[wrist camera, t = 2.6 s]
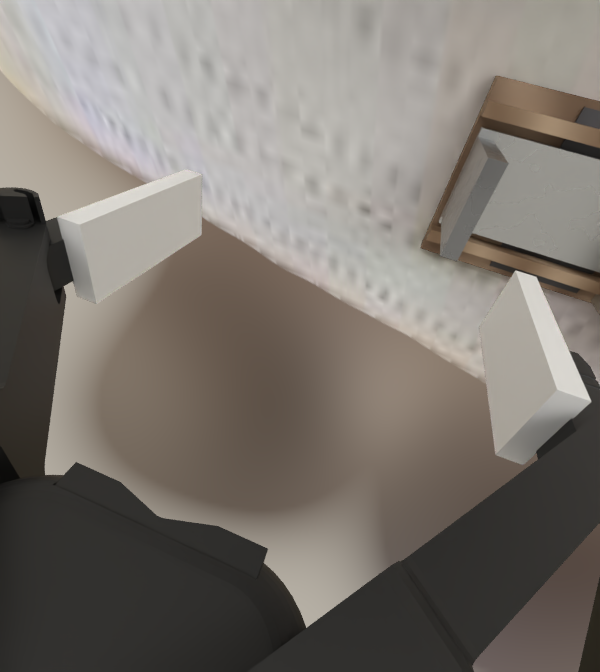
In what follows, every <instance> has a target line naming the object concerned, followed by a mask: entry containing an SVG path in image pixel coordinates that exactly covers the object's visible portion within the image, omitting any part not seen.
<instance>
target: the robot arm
mask: <svg viewBox="0 0 600 672" xmlns="http://www.w3.org/2000/svg"><path fill="white" fill-rule="evenodd" d="M201 228H202V174H200V173H196V172H193V171H190V170H187V169H186V170H183V171H180V172H177V173H175V174H172V175H169V176H167V177H164V178H161V179H158V180H156V181H153V182H150V183H147V184H145V185H142V186H139V187H137V188H134V189H131V190H129V191H126V192H123V193H120V194H118V195H115V196H112V197H109V198H107V199H104V200H101V201H98V202H96V203H93V204H91V205H88V206H85V207H82V208H80V209H77V210H74V211H71V212H68V213H66V214H63V215H60V216H58V217H56V218H53V219H51V220H48V221H45V217H44V213H43V210H42V206H41V203H40V199H39V195H38V193H36V192H34V191H32V190H28V189H23V188H0V672H474V671H473V667H472V665H473V663H474V661H475V660H476V659H477V657H478V656H479V655H480V654H481V653H482V652H483V651H484V650H485V648H486V647H487V646H488V645H489V644H490V643H491V642H492V641H493V640H494V639H495V637H496V636H497V635H498V634H499V633H500V632H501V631H502V630H503V629H504V627H505V626H506V625H507V624H508V623H509V622H510V621H511V620H512V619H513V618H514V616H515V615H516V614H517V613H518V612H519V611H520V610H521V609H522V608H523V606H524V605H525V604H526V603H527V602H528V601H529V600H530V599H531V598H532V597H533V595H534V594H535V593H536V592H537V591H538V590H539V589H540V588H541V587H542V586H543V584H544V583H545V582H546V581H547V580H548V579H549V578H550V577H551V576H552V575H553V573H554V572H555V571H556V570H557V569H558V568H559V567H560V566H561V564H563V562H564V561H565V560H566V559H567V558H568V557H569V556H570V555H571V554H572V553H573V551H574V550H575V549H576V548H577V547H578V546H579V545H580V544H581V543H582V541H583V540H584V539H585V538H586V537H587V536H588V535H589V534H590V533H591V532H592V531H593V529H594V528H595V527H596V526H597V525H598V524H599V523H600V386H599V384H598V382H597V381H596V380H595V379H596V377H595V375H594V373H593V371H592V369H591V367H590V366H589V365H588V364H587V363H586V362H585V361H584V359H583V358H582V357H581V356H580V355H579V354H578V353H575V352H572V351H569V350H568V347H567V345H566V343H565V341H564V338H563V336H562V334H561V331H560V329H559V327H558V325H557V322H556V320H555V318H554V316H553V313H552V311H551V309H550V307H549V304H548V302H547V300H546V298H545V295H544V293H543V291H542V289H541V286H540V284H539V282H538V280H537V277H535V276H532V275H529V274H526V273H522V272H519V271H516V270H515V272H514V273H513V275H512V277H511V278H510V280H509V281H508V283H507V284H506V286H505V287H504V289H503V291H502V292H501V294H500V295H499V297H498V298H497V300H496V302H495V303H494V305H493V306H492V308H491V309H490V311H489V312H488V314H487V316H486V317H485V319H484V320H483V322H482V323H481V325H480V327H479V330H480V338H481V346H482V354H483V361H484V369H485V377H486V385H487V392H488V400H489V408H490V416H491V423H492V430H493V438H494V447H495V454H496V455H498V456H500V457H503V458H505V459H508V460H511V461H513V462H516V463H519V464H521V465H524V464H525V463H526V462H527V461H528V460H529V459H530V458H531V457H532V456H533V455H535V454H536V453H537V457H538V460H537V461H535V462H534V463H533V464H531V465H530V466H529V467H527V468H526V469H525V470H523V471H522V472H521V473H519V474H518V475H517V476H515V477H514V478H513V479H512V480H510V481H509V482H508V483H506V484H505V485H503V486H502V487H501V488H499V489H498V490H497V491H495V492H494V493H493V494H491V495H490V496H489V497H487V498H486V499H485V500H483V501H482V502H481V503H479V504H478V505H477V506H475V507H474V508H473V509H471V510H470V511H469V512H467V513H466V514H465V515H463V516H462V517H461V518H459V519H458V520H456V521H455V522H454V523H452V524H451V525H450V526H449V527H447V528H446V529H445V530H443V531H442V532H440V533H439V534H438V535H436V536H435V537H434V538H432V539H431V540H430V541H429V542H427V543H426V544H424V545H423V546H422V547H420V548H419V549H418V550H416V551H415V552H414V553H413V554H411V555H410V556H408V557H407V558H405V559H404V560H402V561H398V562H396V563H395V564H393V565H391V566H390V567H389V568H387V569H386V570H384V571H383V572H382V573H380V574H379V575H378V576H376V577H375V578H373V579H372V580H371V581H369V582H368V583H367V584H365V585H364V586H363V587H361V588H360V589H359V590H357V591H356V592H354V593H353V594H352V595H350V596H349V597H348V598H346V599H345V600H344V601H342V602H341V603H340V604H338V605H337V606H336V607H334V608H333V609H332V610H330V611H329V612H327V613H326V614H325V615H323V616H322V617H321V618H319V619H318V620H317V621H316V622H314V623H313V624H311V625H310V626H309V627H307V628H306V626H305V623H304V621H303V618H302V615H301V613H300V611H299V608H298V607H297V605H296V603H295V601H294V599H293V597H292V595H291V594H290V592H289V591H288V589H287V588H286V586H285V585H284V583H283V582H282V581H281V580H280V579H279V578H278V576H277V575H276V574H275V573H274V572H273V571H272V570H271V569H270V568H269V567H267V566H266V565H265V564H264V559H265V556H266V553H267V550H268V549H267V548H265V547H263V546H261V545H258V544H256V543H254V542H252V541H250V540H247V539H245V538H243V537H241V536H239V535H236V534H234V533H232V532H230V531H228V530H225V529H223V528H221V527H219V526H213V525H206V524H199V523H192V522H185V521H177V520H171V519H164V518H161V517H159V516H156V514H154V513H153V512H152V511H151V510H150V509H149V508H148V507H147V506H146V505H145V504H144V503H143V502H141V501H140V500H139V499H138V498H137V497H136V496H135V495H134V494H133V493H132V492H130V491H129V490H128V489H127V488H126V487H125V486H124V485H123V484H122V483H121V482H119V481H117V480H114V479H112V478H110V477H108V476H106V475H104V474H101V473H99V472H97V471H94V470H92V469H90V468H88V467H86V466H84V465H81V464H79V463H77V462H76V463H75V464H74V465H73V466H72V467H71V468H70V469H69V470H68V471H67V472H66V473H65V475H45V468H44V466H45V455H46V447H47V440H48V432H49V425H50V416H51V409H52V401H53V394H54V385H55V378H56V371H57V363H58V355H59V348H60V339H61V332H62V325H63V316H64V309H65V301H66V294H65V290H64V286H65V285H67V284H68V283H70V282H72V281H73V283H74V287H75V291H76V295H77V297H80V298H82V299H85V300H87V301H90V302H93V303H95V304H97V303H99V302H100V301H102V300H103V299H105V298H106V297H108V296H109V295H111V294H112V293H114V292H115V291H117V290H118V289H120V288H122V287H123V286H124V285H126V284H128V283H129V282H131V281H132V280H134V279H135V278H137V277H138V276H140V275H141V274H143V273H144V272H146V271H147V270H149V269H150V268H152V267H153V266H155V265H157V264H158V263H159V262H161V261H162V260H164V259H166V258H167V257H169V256H170V255H172V254H173V253H174V252H176V251H178V250H179V249H180V248H182V247H184V246H185V245H187V244H188V243H190V242H191V241H193V240H194V239H196V238H198V237H199V236H200V235H201V230H202V229H201ZM578 672H600V578H599V583H598V587H597V591H596V596H595V600H594V605H593V610H592V614H591V618H590V623H589V627H588V631H587V636H586V640H585V645H584V649H583V654H582V658H581V663H580V667H579V671H578Z"/></svg>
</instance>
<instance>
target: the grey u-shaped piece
mask: <svg viewBox="0 0 600 672" xmlns="http://www.w3.org/2000/svg"><path fill="white" fill-rule="evenodd" d="M439 223H441V244H440V256H442V257H445V258H448V259H451V260H454V261H457V260H458V259H459V257H460V255H461V253H462V251H463V249H464V247H465V245H466V243H467V242H468V240H469V238H470V236H471V234H472V233H474V234H477V235H480V236H483V237H487V238H490V239H493V240H496V241H499V242H503V243H506V244H509V245H512V246H516V247H519V248H522V249H525V250H528V251H532V252H535V253H538V254H541V255H545V256H548V257H551V258H554V259H557V260H561V261H564V262H567V263H570V264H574V265H577V266H580V267H583V268H586V269H590V270H593V271H596V272H599V273H600V159H598V158H595V157H591V156H587V155H584V154H580V153H576V152H573V151H569V150H565V149H562V148H558V147H554V146H551V145H547V144H543V143H540V142H536V141H532V140H528V139H525V138H521V137H517V136H514V135H510V134H506V133H503V132H499V131H495V130H492V129H488V128H484V127H481V128H480V131H479V133H478V135H477V137H476V139H475V142H474V144H473V146H472V148H471V150H470V153H469V155H468V157H467V159H466V161H465V163H464V166H463V168H462V170H461V172H460V174H459V177H458V179H457V181H456V183H455V185H454V188H453V190H452V192H451V194H450V196H449V199H448V201H447V203H446V205H445V207H444V210H443V212H442V214H441V216H440V218H439Z"/></svg>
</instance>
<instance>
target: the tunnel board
mask: <svg viewBox="0 0 600 672" xmlns="http://www.w3.org/2000/svg"><path fill="white" fill-rule="evenodd" d="M481 127H484V128H488V129H492V130H495V131H499V132H503V133H506V134H510V135H514V136H517V137H521V138H525V139H528V140H532V141H536V142H540V143H543V144H547V145H551V146H554V147H558V148H562V149H565V150H569V151H573V152H576V153H580V154H584V155H587V156H591V157H595V158H598V159H600V101H596V100H592V99H588V98H584V97H580V96H576V95H572V94H568V93H564V92H560V91H556V90H552V89H548V88H544V87H540V86H536V85H532V84H528V83H524V82H520V81H516V80H512V79H508V78H504V77H500V76H495V79H494V81H493V83H492V85H491V88H490V90H489V92H488V95H487V97H486V99H485V101H484V104H483V106H482V108H481V110H480V113H479V115H478V117H477V119H476V122H475V124H474V126H473V128H472V131H471V133H470V135H469V137H468V140H467V142H466V144H465V146H464V149H463V151H462V153H461V155H460V158H459V160H458V162H457V165H456V167H455V169H454V171H453V174H452V176H451V178H450V180H449V183H448V185H447V187H446V189H445V192H444V194H443V196H442V198H441V201H440V203H439V205H438V207H437V210H436V212H435V214H434V216H433V219H432V221H431V223H430V225H429V228H428V230H427V232H426V234H425V237H424V239H423V241H422V244H421V248H422V249H425V250H428V251H431V252H434V253H437V254H440V244H441V223H439V218H440V216H441V214H442V212H443V210H444V207H445V205H446V203H447V201H448V199H449V196H450V194H451V192H452V190H453V188H454V185H455V183H456V181H457V179H458V177H459V174H460V172H461V170H462V168H463V166H464V163H465V161H466V159H467V157H468V155H469V153H470V150H471V148H472V146H473V144H474V142H475V139H476V137H477V135H478V133H479V131H480V128H481ZM458 260H459V261H462V262H465V263H468V264H472V265H475V266H478V267H481V268H484V269H487V270H490V271H493V272H496V273H500V274H503V275H506V276H509V277H512V275H513V273H514V272H515V270H516V271H519V272H522V273H526V274H529V275H532V276H535V277H537V280H538V282H539V284H540V286H541V287H543V288H546V289H549V290H552V291H555V292H559V293H562V294H565V295H568V296H571V297H574V298H577V299H580V300H583V301H586V302H590V303H592V304H593V305H594V307H595V308H596V310H597V312H598V313H599V315H600V273H599V272H596V271H593V270H590V269H586V268H583V267H580V266H577V265H574V264H570V263H567V262H564V261H561V260H557V259H554V258H551V257H548V256H545V255H541V254H538V253H535V252H532V251H528V250H525V249H522V248H519V247H516V246H512V245H509V244H506V243H503V242H499V241H496V240H493V239H490V238H487V237H483V236H480V235H477V234H474V233H472V234H471V236H470V238H469V240H468V242H467V243H466V245H465V247H464V249H463V251H462V253H461V255H460V257H459V259H458Z"/></svg>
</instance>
